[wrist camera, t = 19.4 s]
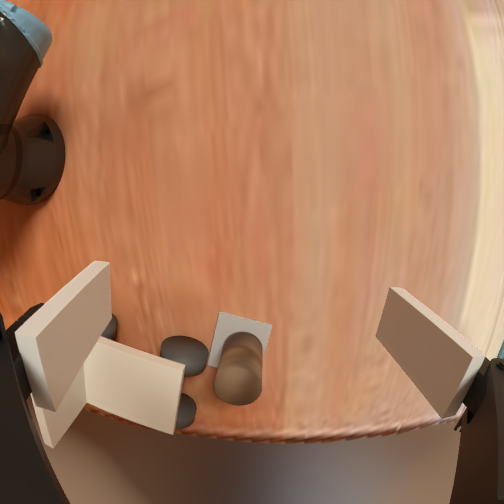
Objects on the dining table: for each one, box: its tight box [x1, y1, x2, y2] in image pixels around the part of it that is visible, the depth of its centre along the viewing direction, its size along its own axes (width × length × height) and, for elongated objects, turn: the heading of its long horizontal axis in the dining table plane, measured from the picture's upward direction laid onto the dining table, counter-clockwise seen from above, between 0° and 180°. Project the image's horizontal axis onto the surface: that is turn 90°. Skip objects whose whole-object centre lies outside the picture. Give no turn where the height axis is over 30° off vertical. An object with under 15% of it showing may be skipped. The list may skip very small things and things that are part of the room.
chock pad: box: [208, 311, 273, 368], centre depth 47 cm, size 8×10×1 cm
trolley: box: [31, 314, 209, 448], centre depth 39 cm, size 22×14×20 cm, turn 76°
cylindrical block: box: [214, 332, 263, 405], centre depth 42 cm, size 6×6×10 cm
